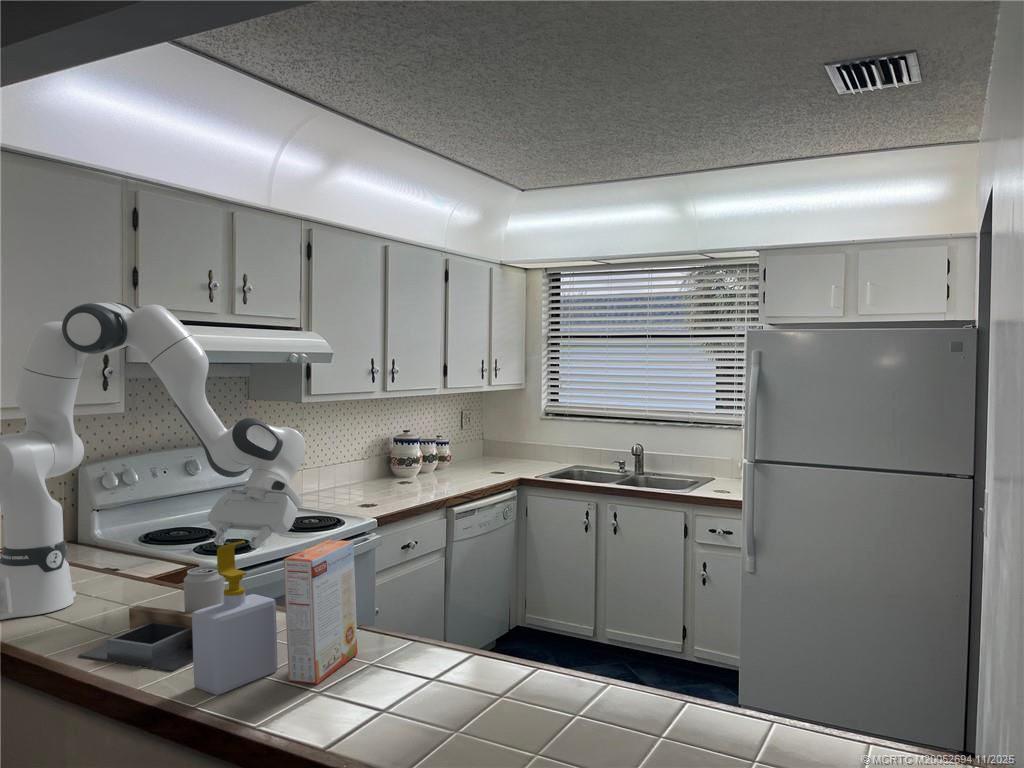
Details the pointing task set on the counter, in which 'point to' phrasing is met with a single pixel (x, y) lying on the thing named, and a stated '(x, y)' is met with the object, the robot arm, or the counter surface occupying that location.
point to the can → (203, 588)
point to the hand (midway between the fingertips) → (235, 545)
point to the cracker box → (320, 610)
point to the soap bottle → (233, 634)
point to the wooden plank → (157, 616)
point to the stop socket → (149, 647)
